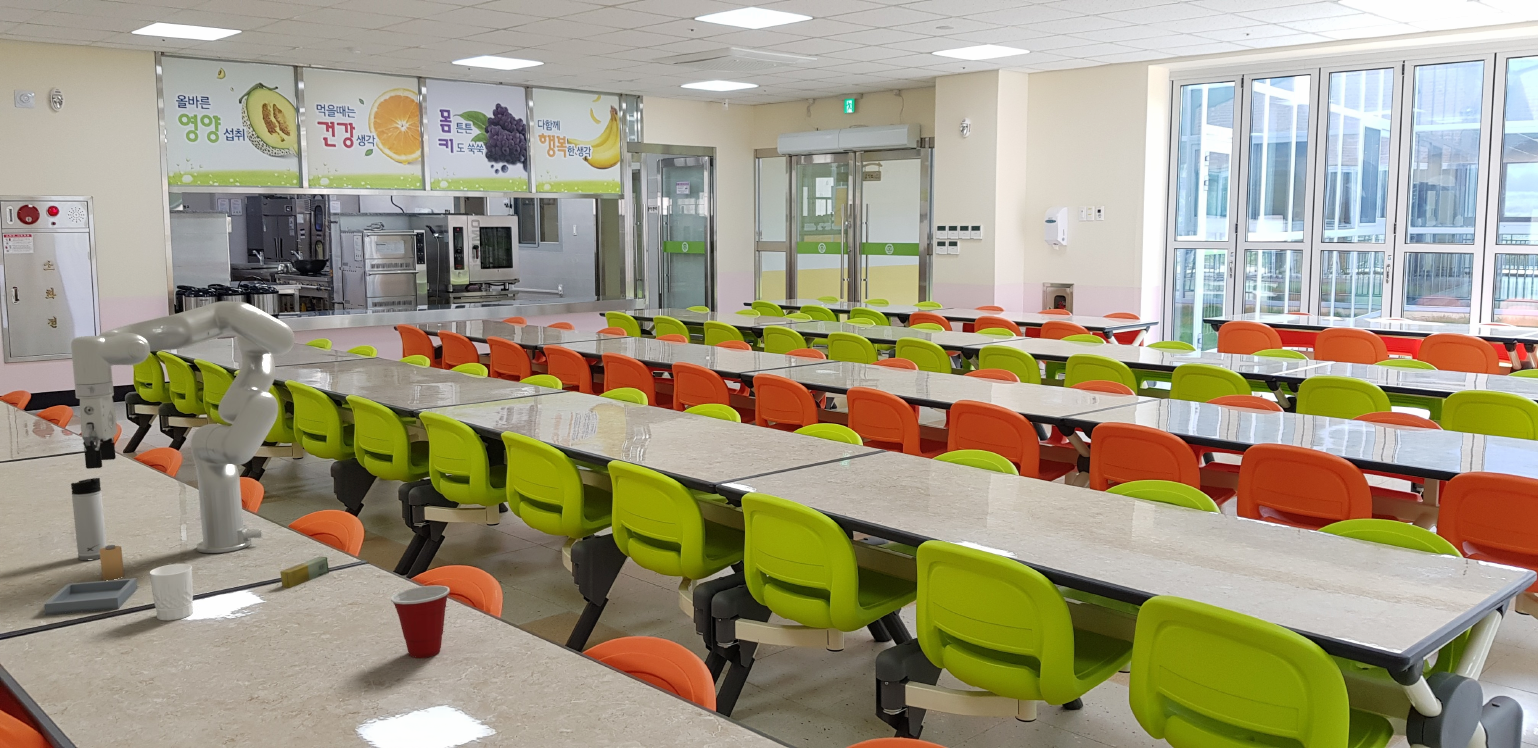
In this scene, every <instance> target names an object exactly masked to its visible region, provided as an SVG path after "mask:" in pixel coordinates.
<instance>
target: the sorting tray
mask: <svg viewBox="0 0 1538 748" xmlns="http://www.w3.org/2000/svg"><path fill="white" fill-rule="evenodd" d="M137 579H138V578H137V577H134V578H120V579H117V580H108V581H105V580H99V581H86V582H74V583H66V584H65V585H64V586H63V587H62V588H61V589H60V590H58V591H57V592H56V593H55V594H54V595H53V596H51V598H49V599H48V600H46V602H45V603H44V604H43V606H44V607H43V608H44V616H54V615H65V614H67V615H68V614H76V613H78V614H79V613H88V612H98V611H101V612H102V611H111V610H119V609H120V608H122V606H123V605H124V604H125V603H126V602H127V601H128V599H129V598H130V597H131V596H132V595H134V593H135V592H136V591H137V590H138V582H137V581H138V580H137ZM136 589H137V590H136Z"/></svg>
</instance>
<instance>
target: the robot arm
mask: <svg viewBox="0 0 1538 748" xmlns="http://www.w3.org/2000/svg"><path fill="white" fill-rule="evenodd" d="M224 336H236V339H237V345H238V347H239V350H240V354H241V367H240V369H239V371H238V373H237V375H236V377H235V378H234V379H233V381H232V383H231V384H230V385H229V388H228V389H227V391H226V392H225V393H224V395H223V397H222V399H221V400H220V402H219V405H218V409H217V410H218V415H219V417H220V419H221V420H223V421H224V422H225V423H227V424H228V425H227V424H219V423H209V424H205V425H204V424H203V425H202V426H200V427H199V428H197V429H196V430H195V431H194V432H193V434H192V436H191V439H190V451H191V452H190V453H191V455H192V459H193V461H194V466H195V470H196V476H197V477H196V478H197V485H198V499H199V510H200V521H201V533H202V535H201V536H202V541H200V542H199V543H197V544H196V551H198V552H200V553H204V554H220V553H229V552H234V551H237V550H242V549H245V548H246V547H249V546H250V545H251V544H252V539H261V538H263V531H262V530H260V529H259V528H257V529H249V528H248V527H247V526H248V525H247V524H244V518H243V505H242V493H241V479H240V473H239V470H238V466H242V465H244V464H246V463H248V462H249V461H251V460H252V459H253V458H254V457H255V456H256V453H257V452H258V451H259V449H260V447H261V446H262V444H263V443H264V442H265V440H266V437H267V436H268V434H269V433H270V431H271V429H272V428H273V426H274V424H275V422H276V420H277V418H278V414H279V405H278V404H279V403H278V400H277V399H276V397H275V396H274V395H273V394H272V393H270V392H269V391H270V389H271V388H272V386H273V384H274V382H275V378H276V373H277V372H276V370H277V369H276V364H275V360H274V359H275V358H274V356H275V357H276V356H284V355H286V354H288V353H289V352H290V351H291V350H292V349H293V347H294V346H295V341H296V338H295V337H296V336H295V333H294V331H293V330H292V328H290V326H289V325H288V324H287V323H285V322H283V321H282V320H279V319H278V318H277V317H274V316H272V315H271V314H269V313H267V312H265V311H263V310H262V309H260V308H258V307H256V306H254V305H252V304H250V303H247V302H244V301H227V300H224V301H223V300H222V301H216V302H213V303H209V304H206V305H205V304H204V305H203V306H199V307H195V308H191V309H189V310H185V311H182V312H179V313H175V314H170V315H166V316H165V315H164V316H161V317H157V318H153V319H148V320H143V321H140V322H139V321H138V322H134V323H131V324H127V325H123V326H120V327H116V328H113V329H110V330H107V331H104V332H102V333H100V334H99V335H88V336H79V337H74V338H73V339H72V341H71V342H70V349H71V360H72V362H71V363H72V369H73V381H74V390H75V391H74V392H75V398H76V399H79V419H80V421H79V422H80V431H81V432H80V433H81V438H82V440H83V442H82V444H83V451H84V461H85V468H86V469H89V470H90V469H102V467H103V461H111V460H115V459H117V458H116V456H117V455H116V447H115V436H116V435H118V424H117V418H116V409H115V405H114V399H113V397H114V394H115V393H114V383H113V372H112V369H113V368H112V366H135V365H140V364H141V363H143V362H145V361H146V360H147V359H148V357H149V355H150V353H151V352H156V351H168V350H169V351H170V350H171V351H173V350H180V349H186V348H190V347H194V346H196V345H199V344H203V343H206V342H209V341H211V340H215V339H218V338H222V337H224ZM229 424H231V425H229Z"/></svg>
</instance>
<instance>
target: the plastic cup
mask: <svg viewBox="0 0 1538 748" xmlns="http://www.w3.org/2000/svg"><path fill="white" fill-rule="evenodd" d="M450 591H451V590H450V587H448V586H446V585H426V586H425V585H424V586H418V587H417V586H416V587H413V588H407V589H405V590H402V591H398V592H395V593H394V594H393V595H391V596H390V601H391V603H392V604H393V605H394V607H395V609H396V613H397V615H398V620H399V622H400V626H401V627H400V628H401V630H402V634H403V638H404V640H405V644H406V649H407V652H408V656H410V657H412V658H415V659H423V658H425V659H426V658H429V657H434V656H436V655H438V654H439V653H440V652H441V649H442V642H443V635H444V627H445V616H446V608H447V601H448V595H449V594H450Z"/></svg>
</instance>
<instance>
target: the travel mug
mask: <svg viewBox="0 0 1538 748" xmlns="http://www.w3.org/2000/svg"><path fill="white" fill-rule="evenodd" d="M70 486H71V487H70V489H71V500H72V508H73V509H72V510H73V517H74V519H73V520H74V527H75V529H74V530H75V537H76V539H75V540H76V548H77V557H78V560H80V561H83V560H88V559H96V560H99V559H98V558H100V549H102V548H105V546H108V545H107V536H106V525H105V524H106V523H105V516H104V515H105V514H104V506H103V498H102V497H103V496H102V488H101V479H100V477H93V478H87V479H82V480H78V482H72V483H70Z"/></svg>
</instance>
